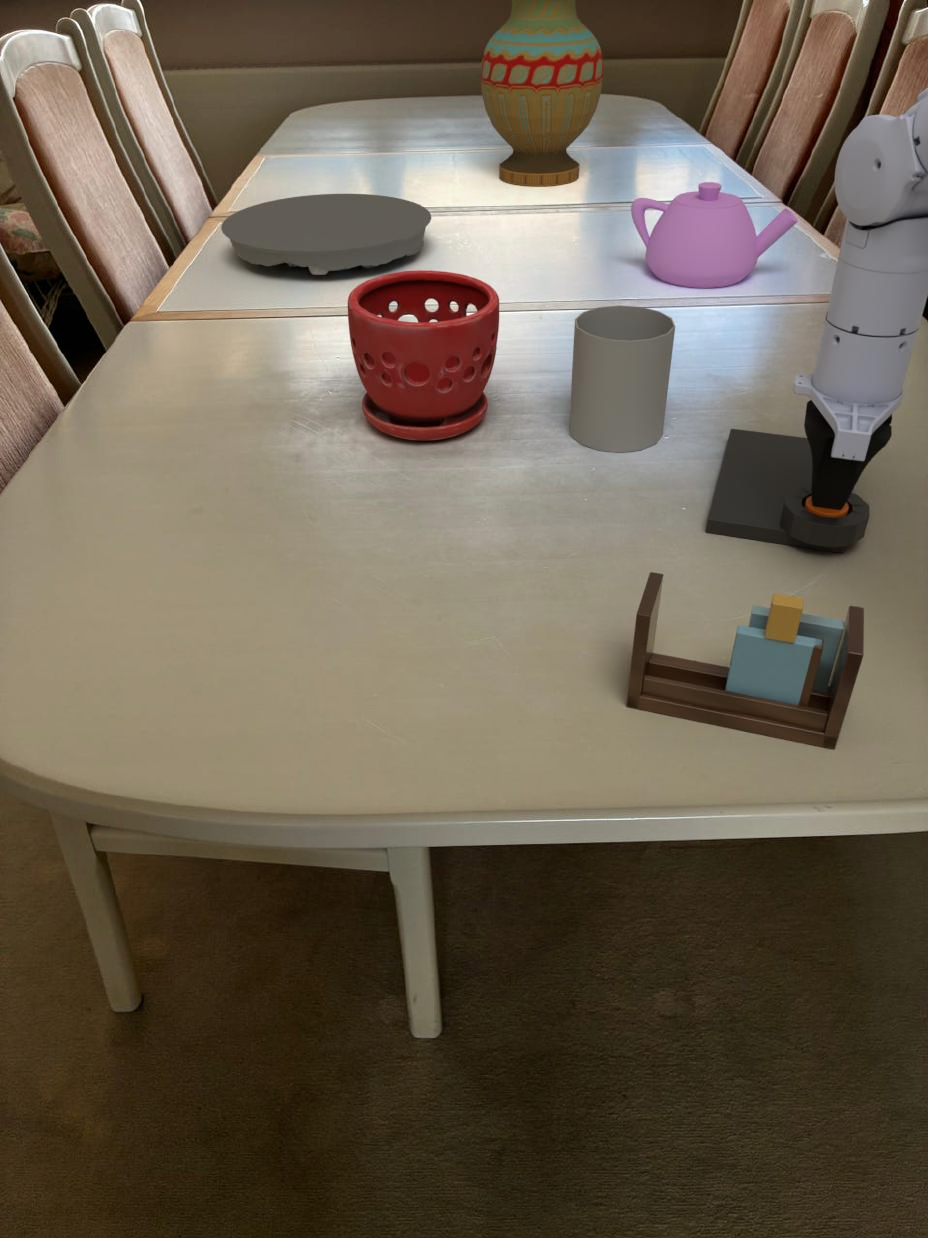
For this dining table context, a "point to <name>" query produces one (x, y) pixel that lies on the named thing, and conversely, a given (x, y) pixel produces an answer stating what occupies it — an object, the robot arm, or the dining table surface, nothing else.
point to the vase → (541, 89)
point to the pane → (776, 656)
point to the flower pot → (424, 352)
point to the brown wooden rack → (704, 697)
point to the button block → (777, 496)
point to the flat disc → (328, 231)
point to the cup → (620, 377)
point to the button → (826, 510)
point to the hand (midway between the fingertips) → (827, 503)
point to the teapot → (705, 237)
